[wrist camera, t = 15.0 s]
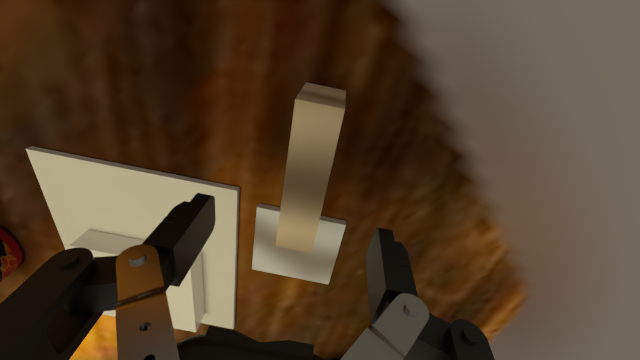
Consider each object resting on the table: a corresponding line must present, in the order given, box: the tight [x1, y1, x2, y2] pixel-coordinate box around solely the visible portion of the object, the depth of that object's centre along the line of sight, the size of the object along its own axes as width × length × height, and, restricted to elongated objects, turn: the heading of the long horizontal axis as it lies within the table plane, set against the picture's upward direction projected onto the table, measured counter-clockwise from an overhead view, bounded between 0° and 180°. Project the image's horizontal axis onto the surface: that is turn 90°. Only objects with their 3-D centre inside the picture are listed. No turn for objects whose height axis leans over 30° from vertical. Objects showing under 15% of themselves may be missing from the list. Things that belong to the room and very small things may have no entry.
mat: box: [26, 146, 240, 329], centre depth 26 cm, size 18×16×1 cm
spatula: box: [252, 82, 346, 284], centre depth 20 cm, size 17×7×4 cm, turn 170°
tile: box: [69, 230, 205, 332], centre depth 26 cm, size 2×10×9 cm
